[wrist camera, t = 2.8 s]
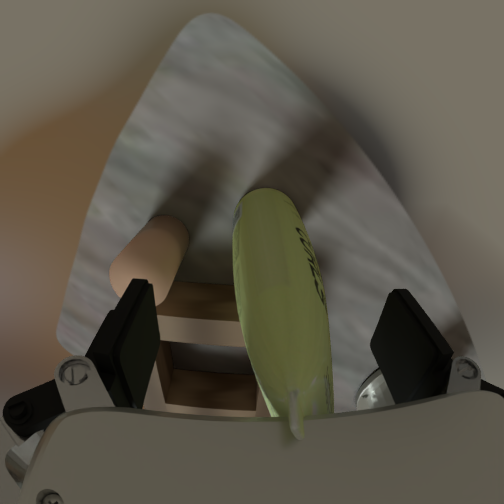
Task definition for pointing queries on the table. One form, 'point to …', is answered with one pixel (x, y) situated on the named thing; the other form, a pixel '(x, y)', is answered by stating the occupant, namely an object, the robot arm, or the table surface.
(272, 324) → the tube
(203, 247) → the table surface
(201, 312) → the square wooden frame
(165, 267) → the short stub
